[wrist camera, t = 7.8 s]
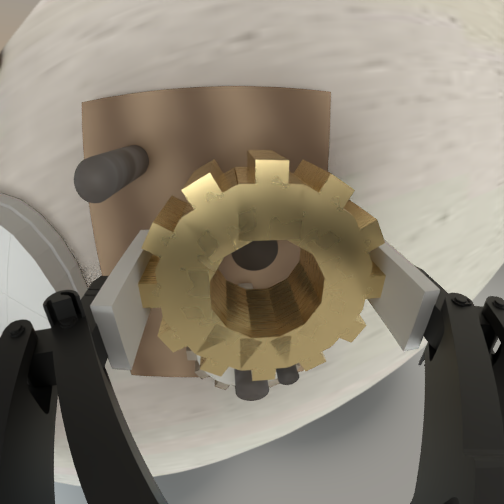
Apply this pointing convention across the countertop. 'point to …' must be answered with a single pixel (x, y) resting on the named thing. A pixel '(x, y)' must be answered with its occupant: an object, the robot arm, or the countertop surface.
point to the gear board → (177, 174)
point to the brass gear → (271, 299)
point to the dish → (31, 264)
